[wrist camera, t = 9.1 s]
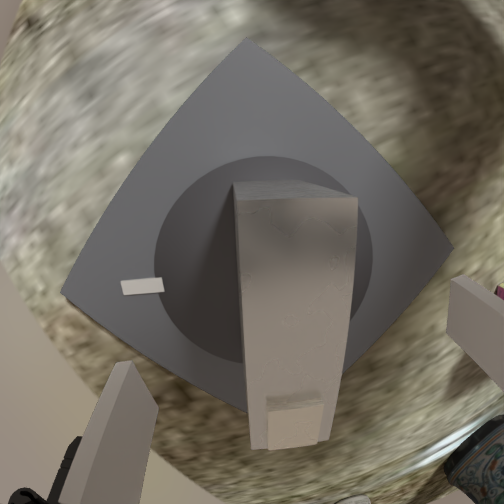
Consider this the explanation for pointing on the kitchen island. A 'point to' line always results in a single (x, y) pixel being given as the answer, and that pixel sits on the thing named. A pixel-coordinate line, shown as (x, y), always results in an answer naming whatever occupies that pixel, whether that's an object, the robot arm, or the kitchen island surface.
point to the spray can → (355, 500)
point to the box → (500, 291)
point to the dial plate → (223, 223)
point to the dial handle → (293, 305)
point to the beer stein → (480, 464)
